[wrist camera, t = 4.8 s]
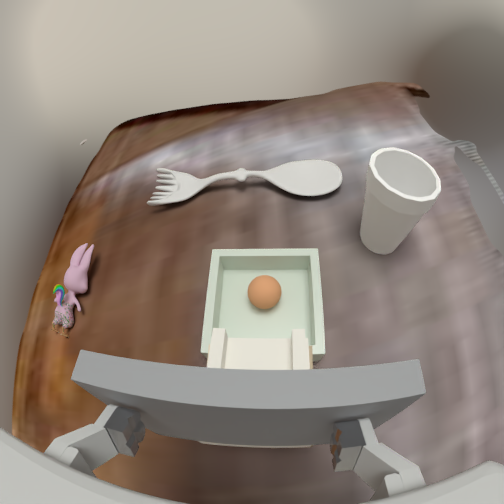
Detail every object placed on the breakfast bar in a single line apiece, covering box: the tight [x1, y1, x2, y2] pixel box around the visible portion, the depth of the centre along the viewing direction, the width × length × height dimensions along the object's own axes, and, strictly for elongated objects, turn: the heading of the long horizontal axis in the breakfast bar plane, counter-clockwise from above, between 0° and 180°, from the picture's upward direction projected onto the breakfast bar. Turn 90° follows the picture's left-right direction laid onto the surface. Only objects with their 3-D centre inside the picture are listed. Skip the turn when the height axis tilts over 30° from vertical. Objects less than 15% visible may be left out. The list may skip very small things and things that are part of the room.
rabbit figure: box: [51, 243, 94, 338], centre depth 36 cm, size 6×6×15 cm
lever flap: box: [71, 328, 426, 448], centre depth 16 cm, size 9×14×12 cm, turn 88°
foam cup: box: [360, 148, 441, 255], centre depth 34 cm, size 10×9×13 cm
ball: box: [247, 275, 282, 309], centre depth 33 cm, size 4×4×4 cm
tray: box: [201, 249, 325, 361], centre depth 33 cm, size 13×13×4 cm
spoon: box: [147, 159, 342, 206], centre depth 46 cm, size 9×32×3 cm, turn 92°
